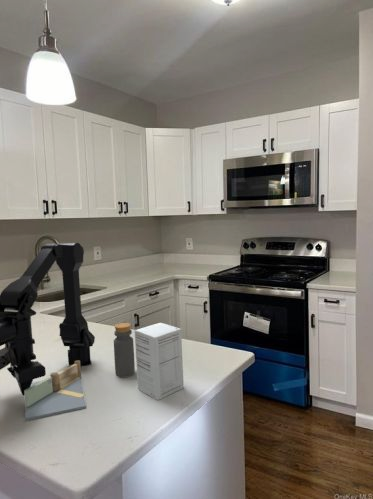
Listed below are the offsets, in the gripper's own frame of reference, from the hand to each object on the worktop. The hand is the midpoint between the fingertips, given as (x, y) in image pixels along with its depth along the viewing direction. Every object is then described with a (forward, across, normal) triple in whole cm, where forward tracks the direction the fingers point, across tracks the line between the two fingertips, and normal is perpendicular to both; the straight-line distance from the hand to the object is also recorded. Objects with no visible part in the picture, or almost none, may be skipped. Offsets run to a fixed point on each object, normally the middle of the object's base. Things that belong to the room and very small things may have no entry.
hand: (24, 394), depth 94 cm
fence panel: (+1, +3, +3) cm, 4 cm away
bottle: (+2, +3, +28) cm, 28 cm away
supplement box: (+2, +18, +30) cm, 35 cm away
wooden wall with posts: (+2, -2, +12) cm, 12 cm away
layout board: (+2, +2, +7) cm, 8 cm away
